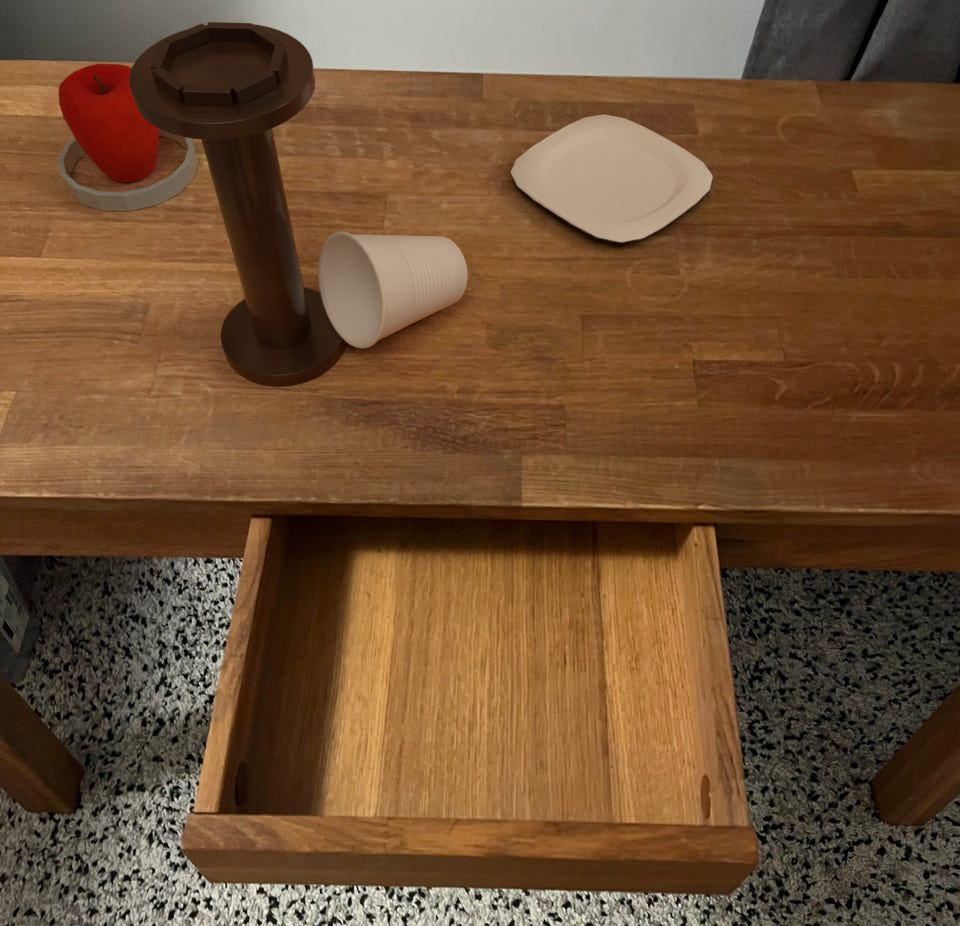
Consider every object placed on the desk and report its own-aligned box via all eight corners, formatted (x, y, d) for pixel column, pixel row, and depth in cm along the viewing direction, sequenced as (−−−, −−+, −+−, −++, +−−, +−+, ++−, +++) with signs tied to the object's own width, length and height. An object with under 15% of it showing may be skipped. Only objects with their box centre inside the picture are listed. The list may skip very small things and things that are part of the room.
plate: (489, 183, 93) (490, 169, 91) (600, 115, 100) (602, 101, 99) (620, 268, 85) (623, 254, 84) (729, 187, 93) (733, 174, 92)
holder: (271, 413, 74) (191, 133, 52) (192, 338, 79) (88, 52, 57) (379, 342, 79) (348, 59, 57) (298, 275, 84) (241, -10, 62)
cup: (453, 343, 83) (357, 370, 77) (403, 261, 85) (305, 281, 79) (500, 279, 75) (398, 303, 69) (443, 190, 78) (339, 206, 71)
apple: (155, 135, 96) (124, 40, 87) (188, 176, 92) (159, 81, 83) (76, 162, 93) (36, 66, 84) (107, 206, 89) (68, 111, 80)
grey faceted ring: (108, 229, 87) (101, 213, 86) (41, 167, 93) (34, 151, 91) (222, 171, 93) (218, 155, 91) (153, 116, 98) (147, 100, 97)
